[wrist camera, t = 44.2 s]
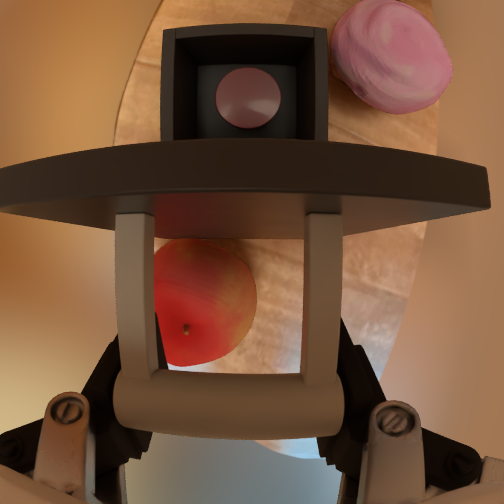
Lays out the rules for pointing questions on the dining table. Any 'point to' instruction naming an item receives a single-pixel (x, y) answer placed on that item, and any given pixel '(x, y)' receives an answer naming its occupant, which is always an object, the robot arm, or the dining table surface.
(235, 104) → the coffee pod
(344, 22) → the cupcake
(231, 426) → the bin lid
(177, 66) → the open square bin
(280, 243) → the dining table surface
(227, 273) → the apple
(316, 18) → the dining table surface
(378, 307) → the dining table surface
